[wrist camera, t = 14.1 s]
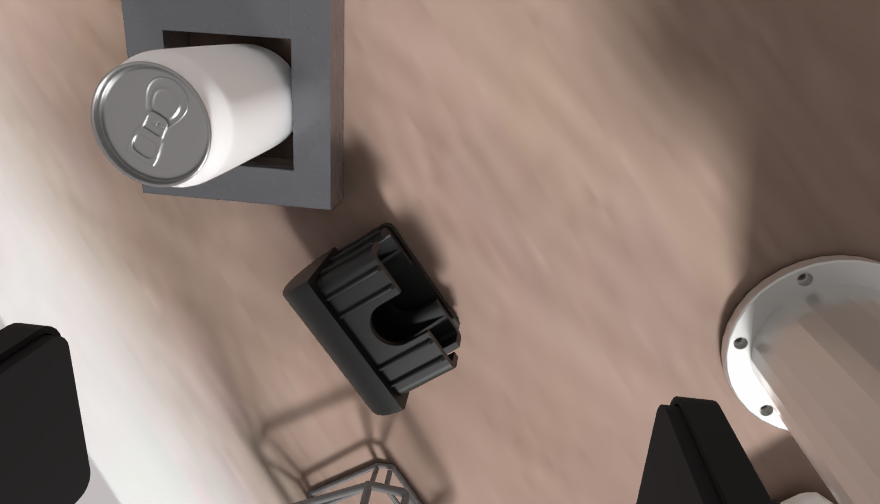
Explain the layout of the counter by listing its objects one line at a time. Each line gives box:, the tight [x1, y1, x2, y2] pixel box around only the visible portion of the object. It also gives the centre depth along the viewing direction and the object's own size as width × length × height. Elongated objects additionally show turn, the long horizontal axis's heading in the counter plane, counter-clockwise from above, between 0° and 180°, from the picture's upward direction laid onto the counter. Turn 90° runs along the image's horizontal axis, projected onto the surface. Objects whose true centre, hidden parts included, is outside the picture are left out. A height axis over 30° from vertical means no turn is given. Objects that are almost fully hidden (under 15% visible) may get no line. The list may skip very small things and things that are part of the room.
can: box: [91, 44, 293, 187], centre depth 33 cm, size 6×6×12 cm
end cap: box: [283, 223, 461, 415], centre depth 39 cm, size 10×7×7 cm
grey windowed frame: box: [121, 0, 344, 210], centre depth 35 cm, size 12×22×3 cm, turn 177°
